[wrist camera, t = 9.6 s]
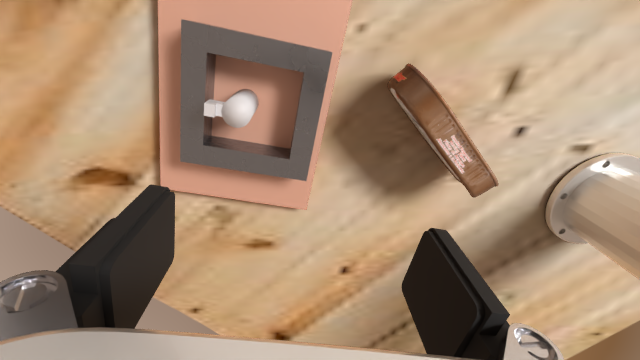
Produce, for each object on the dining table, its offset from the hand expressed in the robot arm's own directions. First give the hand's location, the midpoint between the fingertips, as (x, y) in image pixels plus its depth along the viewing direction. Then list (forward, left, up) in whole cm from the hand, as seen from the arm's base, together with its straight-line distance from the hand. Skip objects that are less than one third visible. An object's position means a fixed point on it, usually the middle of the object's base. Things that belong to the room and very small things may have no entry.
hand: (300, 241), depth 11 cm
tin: (-14, -1, -23) cm, 26 cm away
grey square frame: (+4, 0, -21) cm, 21 cm away
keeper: (+5, 0, -22) cm, 23 cm away
